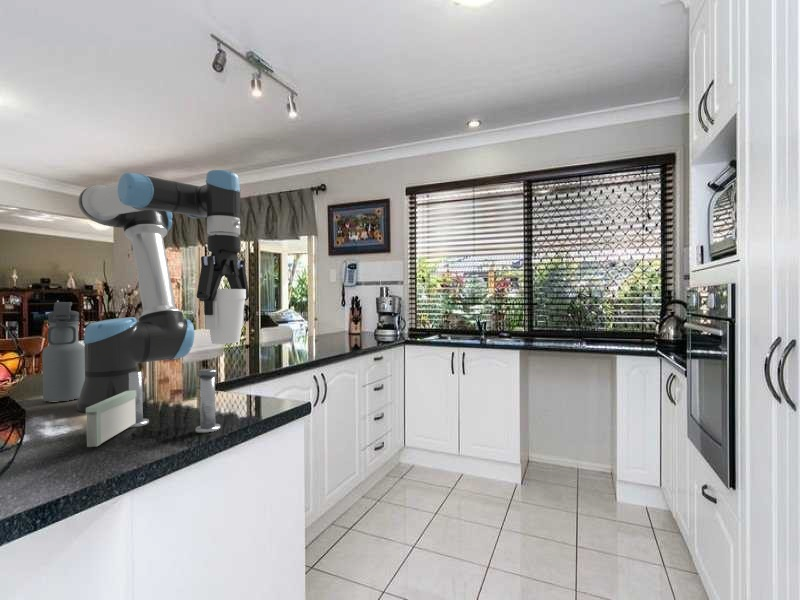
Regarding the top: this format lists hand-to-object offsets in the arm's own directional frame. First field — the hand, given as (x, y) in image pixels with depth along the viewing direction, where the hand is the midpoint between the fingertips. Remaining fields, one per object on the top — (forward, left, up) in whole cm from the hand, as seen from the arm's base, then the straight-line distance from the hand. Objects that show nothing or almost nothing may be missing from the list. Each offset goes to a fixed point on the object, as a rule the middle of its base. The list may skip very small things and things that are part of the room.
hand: (225, 327), depth 103 cm
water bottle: (-57, +5, -22) cm, 61 cm away
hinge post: (-16, -11, -21) cm, 29 cm away
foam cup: (0, 0, -4) cm, 4 cm away
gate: (-13, -19, -21) cm, 31 cm away
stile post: (+3, -11, -21) cm, 24 cm away
